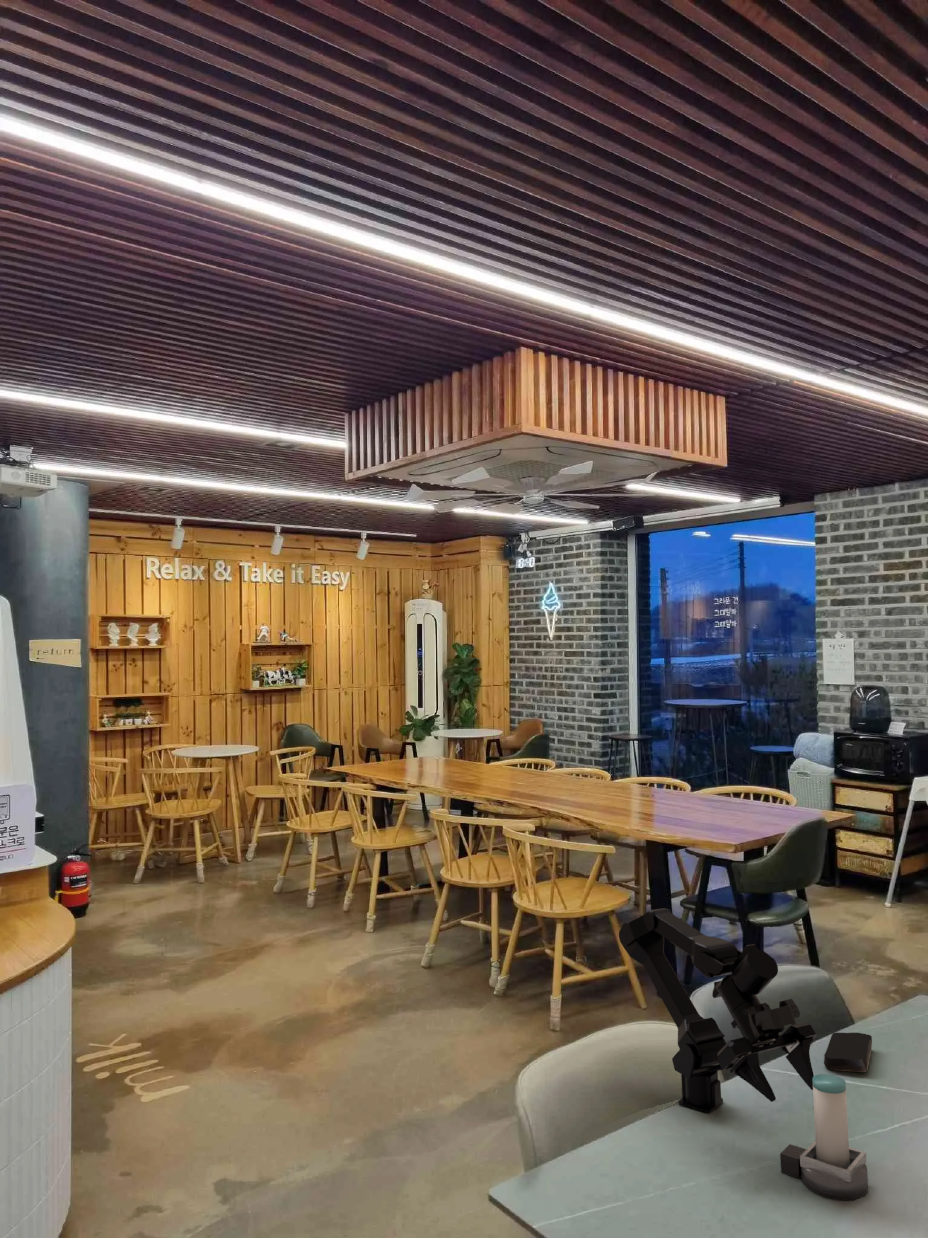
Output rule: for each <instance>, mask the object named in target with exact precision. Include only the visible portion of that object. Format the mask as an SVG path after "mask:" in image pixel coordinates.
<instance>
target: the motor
mask: <svg viewBox="0 0 928 1238" xmlns="http://www.w3.org/2000/svg"><path fill="white" fill-rule="evenodd" d="M849 1155H850V1166H849V1167H848V1169H844V1168H841V1167H838V1166H835V1165H831V1164H828V1163H825V1162H822V1161H819V1160H817V1157H816V1139H815V1140H814V1141H813V1142H812V1143H811V1144H810V1145H809V1146H808V1147H807V1148H803V1147H801V1146H797V1145H794V1144H790V1143H789V1144H788V1145H787V1146H786V1147H785V1148H784V1149H783V1150H782V1151H781V1152H780V1153H779V1158H780V1159H779V1160H780V1173H781V1174H785V1175H787V1176H791V1177H794V1178H797V1179H800V1178H801V1182H802V1184H803V1186H805V1188H806V1189H808V1190H809V1191H810V1192H812V1193H814V1194H815V1195H818V1196H820V1197H822V1198H823V1197H824V1198H825V1199H829V1200H834V1201H840V1202H841V1201H842V1202H843V1201H844V1202H846V1201H847V1202H848V1201H850V1202H851V1201H857V1200H860V1199H862V1198H864V1197H865V1196H867V1194H869V1178H868V1177H869V1176H868V1173H869V1172H868V1167H867V1165H866V1164H867V1162H868V1161H867V1152H866V1151H863V1150H859V1149H856V1148H853V1147H850V1146H849Z"/></svg>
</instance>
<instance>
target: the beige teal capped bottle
mask: <svg viewBox="0 0 928 1238" xmlns="http://www.w3.org/2000/svg"><path fill="white" fill-rule="evenodd" d="M846 1085H847V1083H846V1080H845V1079H844V1078H842V1077H841V1076H838V1075H834V1074H830V1073H829V1074H828V1073H826V1074H825V1073H821V1074H820V1073H818V1074H814V1077H813V1090H812V1096H813V1111H814V1112H813V1114H814V1133H815V1134H814V1135H815V1140H816V1157H817V1160H819V1161H822V1162H825V1163H828V1164H831V1165H835V1166H838V1167H841V1168H844V1169H848V1167H849V1166H850V1155H849V1147H850V1141H849V1138H850V1137H849V1120H848V1119H849V1118H848V1104H847V1101H848V1100H847V1088H846Z"/></svg>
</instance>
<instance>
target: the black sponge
mask: <svg viewBox="0 0 928 1238" xmlns="http://www.w3.org/2000/svg"><path fill="white" fill-rule="evenodd" d="M872 1048H873V1038H872V1035H870V1034H866V1033H862V1032H833V1033H832V1034H831V1037H830V1038H829V1042H828V1045H827V1048H826V1051H825V1053H824V1055H823V1058H824V1059H823V1065H824V1067H825V1068H826V1069H827V1070H829V1071H830V1070H831V1071H838V1072H840V1071H841V1072H855V1073H866V1072H868V1069H869V1068H868V1067H869V1065H870V1060H871V1054H872V1050H873V1049H872Z"/></svg>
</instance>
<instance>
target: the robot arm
mask: <svg viewBox="0 0 928 1238" xmlns="http://www.w3.org/2000/svg"><path fill="white" fill-rule="evenodd" d="M620 927H621V928H620V930H619V931H618V938H619V943H620V944H621V946H622V947H623V949H624V950H625V952H626V953H627V954H628V956H629V957H630V958H631V959H632V960H634V961H636V962H637V963H639V964H641V965H642V966H643V967H644V970H645V971H646V973H647V975H648V976H649V979H650V981H651V982H652V984H653V986H654V987H655V989H656V991H657V993H658V994H659V996H660V998H661V1001H662V1002H663V1004H664V1006H665V1008H666V1009H667V1012H668V1013H669V1015H670V1016H671V1018H672V1020H673V1022H674V1024H675V1026H676V1027H677V1046H678V1048H679V1050H678V1051H677V1052H676V1054H674V1056H672V1059H671V1061H672V1065H673V1069H674V1071H676V1072H677V1073H679V1074H680V1077H681V1098H680V1099H679V1100H678V1101H677V1103H678V1105H680V1106H684V1107H686V1108H689V1109H694V1110H697V1111H700V1112H703V1113H708V1114H709V1113H711V1112H712V1111H713V1110H715V1109H716V1108H717V1107H719V1106H720V1105H721V1104H722V1103H724V1099H723V1098H722V1090H721V1089H722V1086H721V1080H719V1071H723V1072H725V1071H728V1070H729V1073H730V1074H731V1075H733V1074H734V1075H736V1076H738V1077H739V1078H740V1079H742V1080H743V1081H745V1082H746V1083H748V1084H749V1085H751V1086H752V1087H753V1088H754V1089H755V1090H756V1091H757V1092H759V1093H760V1094H761V1095H763V1096H764V1097H765V1098H766V1099H768V1101H770V1102H772V1103H773V1102H775V1101H776V1100H777V1098H776V1096H775V1093H774V1090H773V1088H772V1086H771V1084H770V1083H769V1081H768V1079H767V1077H766V1075H765V1074H764V1071H763V1070H762V1068H761V1066H760V1061H759V1060H760V1059H759V1054H763V1053H765V1052H769V1051H774V1050H777V1049H781V1050H782V1051H783V1052H785V1053H786V1054H787V1055H786V1056H785V1058H786V1060H787V1061H788V1063H789V1064H790V1065H791V1066H792V1067H793V1069H794V1071H795V1072H796V1073H797V1074H798V1076H800V1078H801V1079H802V1080H803V1082H804V1083H805V1084H806V1086H808V1088H810V1090H811V1091H813V1077H814V1076H815V1074H814V1070H813V1067H812V1062H811V1057H810V1054H811V1053H810V1049H811V1045H813V1043H814V1041H815V1040H814V1039H815V1038H816V1037H817V1036H818V1035H817V1033H816V1031H815V1030H814V1028H813V1026H812V1024H810V1023H808V1022H806V1021H803V1022H800V1023H797V1021H796V1019H798V1018H800V1016H801V1013H800V1010H799V1008H798V1007H799V1006H797V1004H796V1003H795V1001H794V999H793V998H789V999H788V998H787V999H784V1000H780V1001H779V1004H778V1005H779V1007H777V1008H771V1007H770V1005H769V1003H767V1002H763V1003H761V1001H760V999H759V998H758V996H757V995H759V994H761V993H762V992H763V990H765V989H766V988H767V986H768V985H769V984H771V982H772V981H773V980H774V978H775V977H776V976H777V975H778V973H779V966H778V964H777V962H776V960H775V958H774V957H772V956H771V955H770V954H769V953H767V952H766V951H764V950H761V949H759V948H758V946H757V945H756V944H755V943H753V944H747V945H746V946H745V947H744V948H743V950H740V949H738V948H737V947H736V945H735V944H734V943H732V941H729V940H726V939H723V938H720V937H714V936H710V935H706V934H704V933H702V932H701V931H700V930H698V929H697V928H695V927H693V926H691V924H689V923H687V922H685V921H684V920H682V919H681V918H679V917H677V916H676V915H675V914H673V912H672V911H671V909H668V908H665V907H664V908H663V907H662V908H657V909H649V910H648V911H647V912H645V913H643V915H640V916H639V917H637V918H635V919H632V920H631V921H627V922H624V923H623V924H622V925H621V926H620ZM665 939H666V940H667V941H668V942H670V943H671V944H673V945H674V946H676V947H677V948H678V949H680V950H681V951H682V952H684V953H686V954H687V955H688V956H690V958H691V961H692V965H693V966H694V968H695V969H697V970H698V971H699V972H700V973H701V974H702V976H704V977H705V978H707V979H708V978H709V979H711V978H716V977H721V976H724V977H723V978H722V979H721V980H718V981H714V982H713V989H712V995H711V996H712V998H713V999H716V998H721V999H722V1001H723V1002H724V1004H725V1006H726V1008H727V1010H728V1011H729V1013H730V1015H731V1017H732V1019H733V1020H732V1021H731V1023H730V1024H731V1026H732V1027H731V1028H732V1029H734V1030H735V1029H738V1030H739V1031H740V1033H741V1035H742V1037H739V1038H735V1039H732V1040H731V1039H730V1040H729V1041H727V1040H726V1039H725V1036H726V1035H725V1034H724V1033H723V1032H722V1031H721V1028H719V1026H718V1024H717V1022H716V1020H715V1019H714V1018H713V1017H708V1018H704V1017H703V1016H701V1015H700V1014H699V1012H698V1010H697V1009H696V1006H695V1005H694V1004H693V1003H694V1002H692V1000H691V998H690V996H689V995H688V993H687V991H686V988H685V987H684V986H683V984H682V983H681V980H680V979H679V976H678V975H677V974H676V972H675V970H674V969H673V967H672V965H671V964H670V961H669V960H668V958H667V957H666V955H665V951H664V950H665ZM789 1025H790V1026H789ZM785 1026H789V1027H788V1028H787V1029H786V1030H785ZM784 1030H785V1031H784ZM783 1031H784V1032H783ZM782 1032H783V1033H782ZM779 1033H782V1034H781V1035H780V1034H779Z"/></svg>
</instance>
